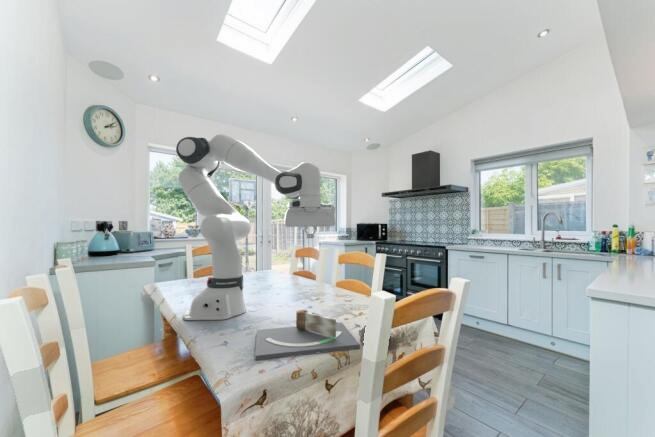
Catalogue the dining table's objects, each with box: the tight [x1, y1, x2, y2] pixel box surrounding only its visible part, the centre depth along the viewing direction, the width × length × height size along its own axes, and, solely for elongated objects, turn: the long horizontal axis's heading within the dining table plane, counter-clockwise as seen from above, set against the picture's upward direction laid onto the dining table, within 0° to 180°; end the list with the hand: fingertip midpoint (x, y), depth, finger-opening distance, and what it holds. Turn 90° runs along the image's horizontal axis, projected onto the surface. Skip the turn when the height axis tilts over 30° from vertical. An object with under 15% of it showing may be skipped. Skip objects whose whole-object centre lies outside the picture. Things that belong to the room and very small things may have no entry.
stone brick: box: [295, 309, 337, 338], centre depth 84 cm, size 15×4×5 cm, turn 53°
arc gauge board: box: [254, 322, 361, 361], centre depth 82 cm, size 28×18×1 cm, turn 103°
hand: (310, 238), depth 109 cm, fingers closed
